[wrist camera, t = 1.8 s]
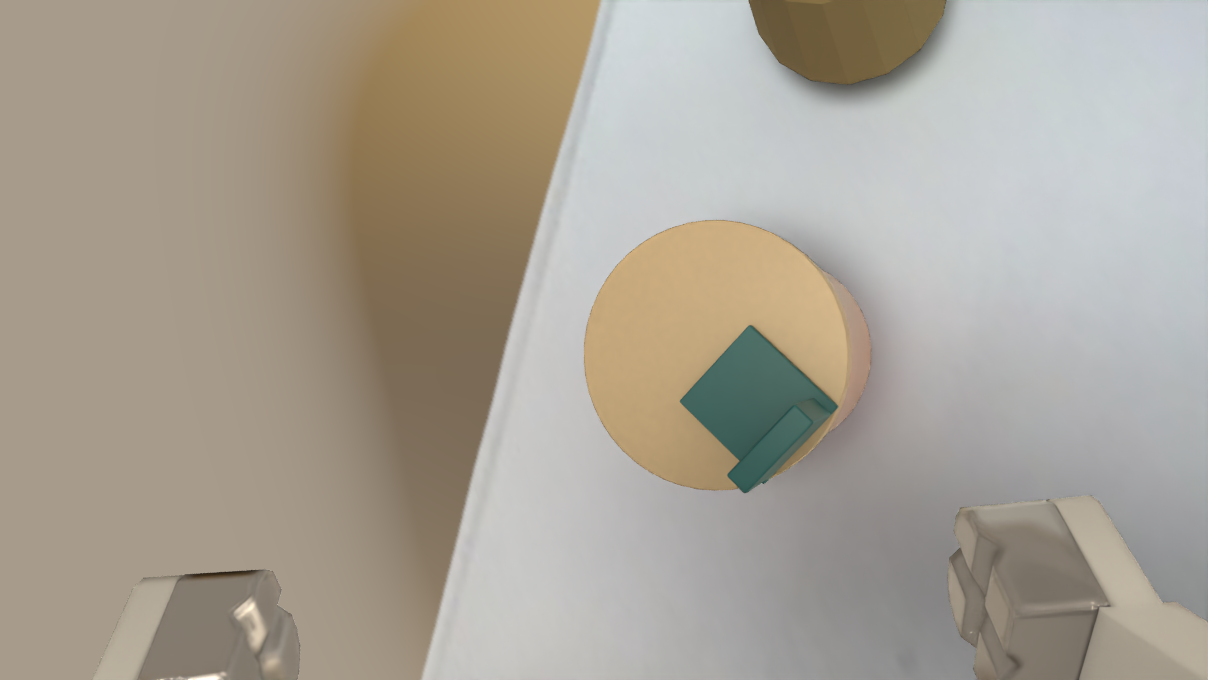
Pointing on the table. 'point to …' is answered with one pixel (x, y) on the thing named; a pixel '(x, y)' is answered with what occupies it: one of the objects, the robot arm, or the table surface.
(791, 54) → the squeeze bottle
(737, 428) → the teal l-shaped bracket
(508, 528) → the table surface
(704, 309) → the cup lid
